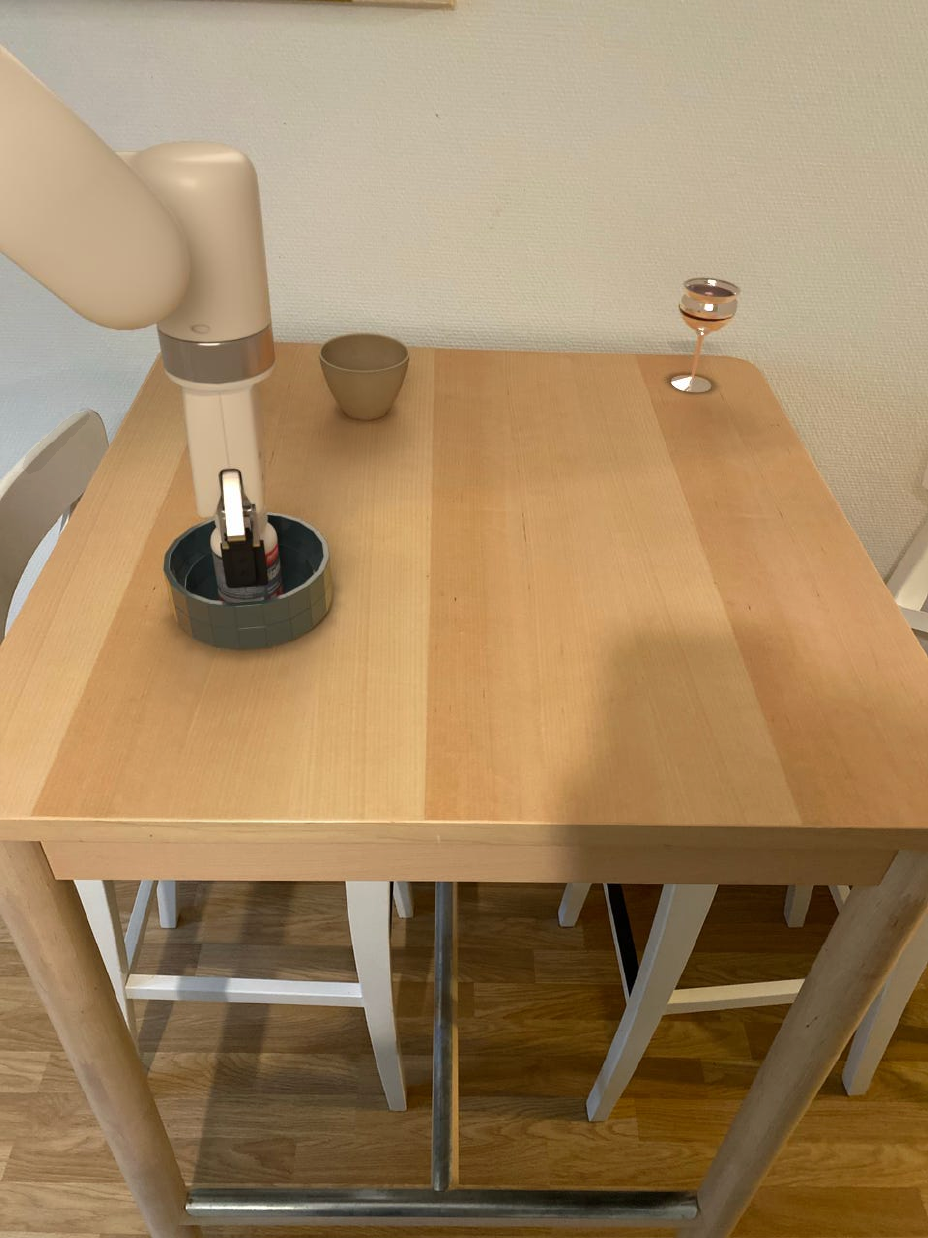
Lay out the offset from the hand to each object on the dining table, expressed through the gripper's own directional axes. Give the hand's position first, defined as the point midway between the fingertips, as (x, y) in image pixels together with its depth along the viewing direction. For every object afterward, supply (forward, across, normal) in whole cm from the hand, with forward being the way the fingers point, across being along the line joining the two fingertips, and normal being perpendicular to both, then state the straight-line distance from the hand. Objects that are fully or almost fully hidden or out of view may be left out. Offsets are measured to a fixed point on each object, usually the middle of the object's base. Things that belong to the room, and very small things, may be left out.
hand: (247, 560), depth 73 cm
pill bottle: (+4, 0, 0) cm, 4 cm away
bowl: (+5, 0, 0) cm, 5 cm away
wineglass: (+5, -37, +54) cm, 66 cm away
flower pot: (+5, -34, +13) cm, 37 cm away
